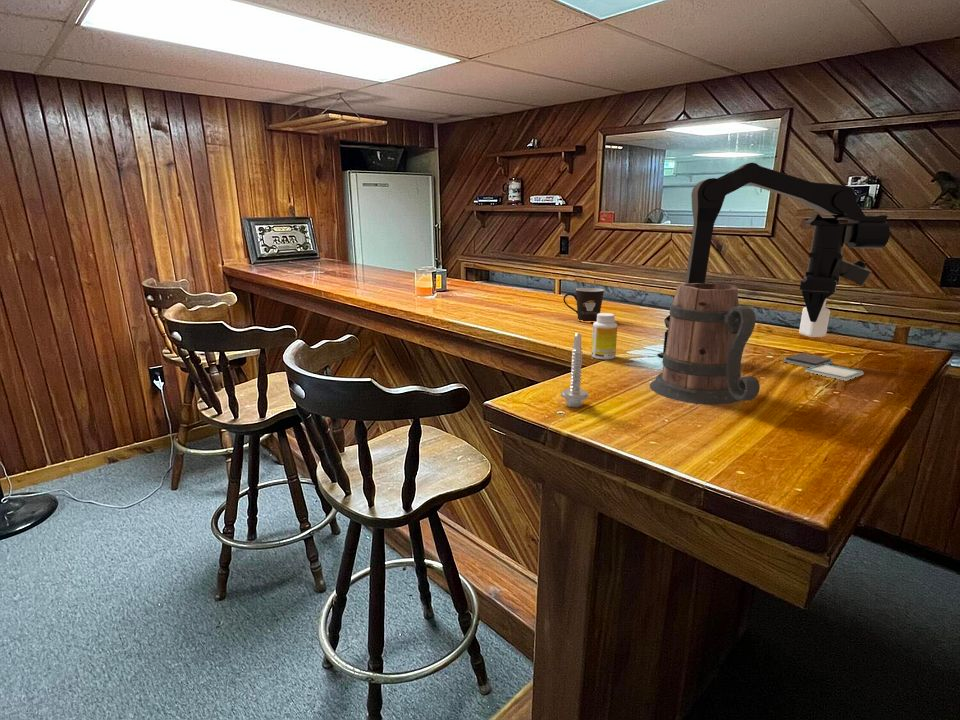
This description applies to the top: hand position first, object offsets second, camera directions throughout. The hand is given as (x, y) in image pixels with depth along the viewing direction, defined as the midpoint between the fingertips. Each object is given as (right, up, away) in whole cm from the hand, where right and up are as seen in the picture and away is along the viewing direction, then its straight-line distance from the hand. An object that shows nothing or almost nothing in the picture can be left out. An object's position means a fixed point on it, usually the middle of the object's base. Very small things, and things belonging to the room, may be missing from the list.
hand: (814, 319), depth 118 cm
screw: (-57, -17, -24) cm, 65 cm away
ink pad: (0, -10, +3) cm, 10 cm away
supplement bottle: (-45, -8, +8) cm, 46 cm away
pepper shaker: (0, -4, +1) cm, 4 cm away
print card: (+1, -12, -5) cm, 13 cm away
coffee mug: (-41, +3, +51) cm, 66 cm away
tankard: (-32, -16, -19) cm, 40 cm away
